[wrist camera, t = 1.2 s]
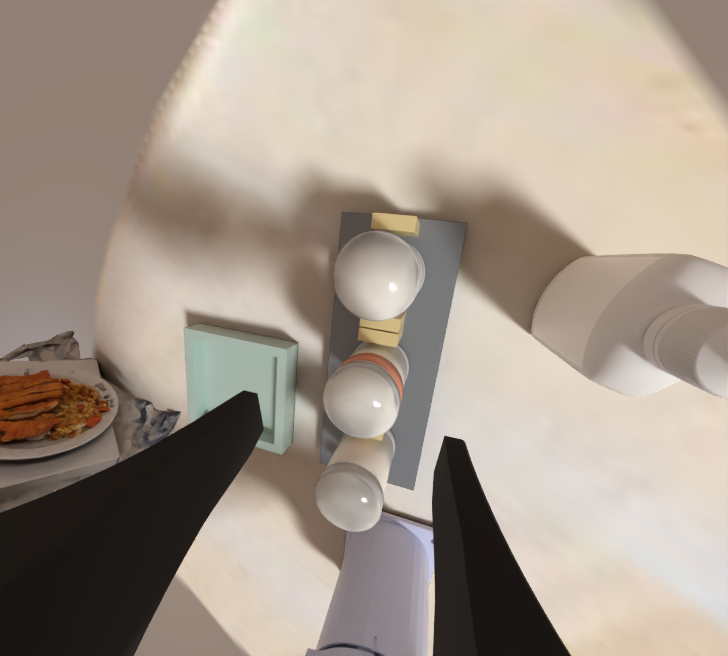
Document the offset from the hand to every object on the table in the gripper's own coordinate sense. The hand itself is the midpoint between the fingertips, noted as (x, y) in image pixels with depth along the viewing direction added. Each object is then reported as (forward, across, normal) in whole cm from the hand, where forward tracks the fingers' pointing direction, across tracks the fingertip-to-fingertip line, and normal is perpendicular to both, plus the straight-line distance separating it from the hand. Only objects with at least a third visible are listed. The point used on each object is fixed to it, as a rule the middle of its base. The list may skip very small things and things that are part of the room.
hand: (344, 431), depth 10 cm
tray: (+10, +12, +9) cm, 18 cm away
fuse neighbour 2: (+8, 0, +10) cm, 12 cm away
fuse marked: (+9, 0, +3) cm, 10 cm away
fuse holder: (+10, 0, +4) cm, 11 cm away
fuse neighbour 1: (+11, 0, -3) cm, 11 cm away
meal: (+10, +27, +12) cm, 31 cm away
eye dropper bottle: (+12, -11, -2) cm, 16 cm away
